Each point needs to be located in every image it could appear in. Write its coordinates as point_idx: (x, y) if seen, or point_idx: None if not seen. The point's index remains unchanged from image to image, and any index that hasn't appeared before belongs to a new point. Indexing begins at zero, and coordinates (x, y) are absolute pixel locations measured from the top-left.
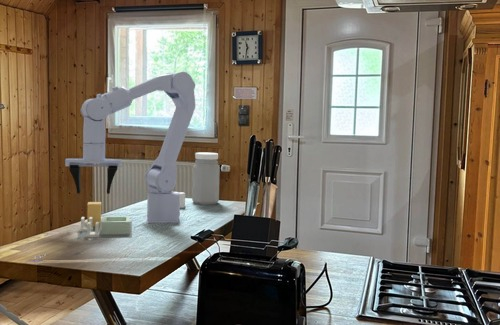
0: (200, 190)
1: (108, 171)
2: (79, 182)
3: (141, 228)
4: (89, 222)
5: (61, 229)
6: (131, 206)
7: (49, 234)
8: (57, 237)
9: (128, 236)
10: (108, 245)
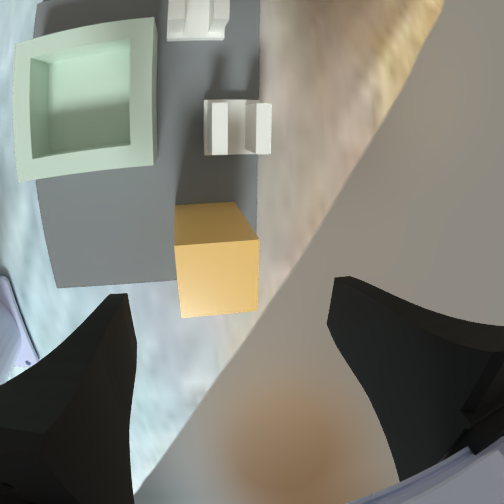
0: None
1: (40, 417)
2: (376, 339)
3: (9, 204)
4: (219, 10)
5: (334, 184)
6: (141, 479)
7: (368, 105)
8: (337, 52)
9: (47, 13)
10: None
